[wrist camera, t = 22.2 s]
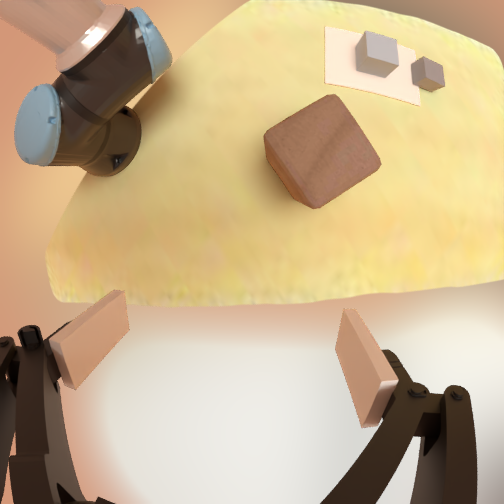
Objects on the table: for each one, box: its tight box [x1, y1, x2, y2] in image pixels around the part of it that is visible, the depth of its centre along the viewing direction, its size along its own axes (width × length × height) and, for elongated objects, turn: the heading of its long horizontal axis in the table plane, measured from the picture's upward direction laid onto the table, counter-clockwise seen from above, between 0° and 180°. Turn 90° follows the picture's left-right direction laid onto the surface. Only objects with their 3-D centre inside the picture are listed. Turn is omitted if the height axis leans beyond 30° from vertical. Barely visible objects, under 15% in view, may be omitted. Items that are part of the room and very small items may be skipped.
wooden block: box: [264, 94, 381, 209], centre depth 36 cm, size 10×10×20 cm
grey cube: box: [411, 57, 445, 92], centre depth 36 cm, size 5×5×5 cm
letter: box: [325, 26, 420, 106], centre depth 39 cm, size 20×14×1 cm
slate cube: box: [355, 31, 399, 78], centre depth 36 cm, size 6×6×7 cm
